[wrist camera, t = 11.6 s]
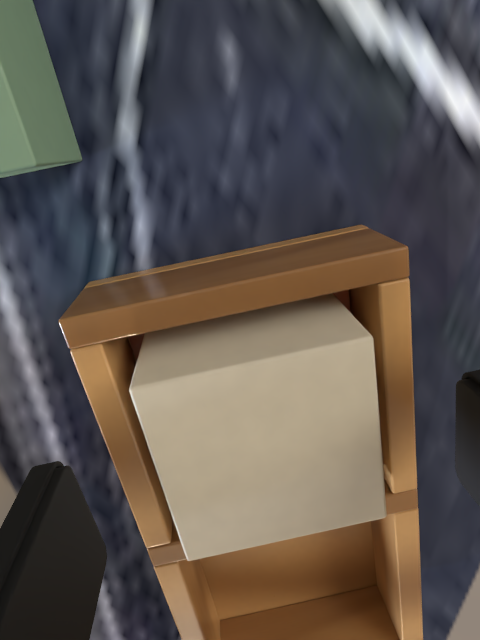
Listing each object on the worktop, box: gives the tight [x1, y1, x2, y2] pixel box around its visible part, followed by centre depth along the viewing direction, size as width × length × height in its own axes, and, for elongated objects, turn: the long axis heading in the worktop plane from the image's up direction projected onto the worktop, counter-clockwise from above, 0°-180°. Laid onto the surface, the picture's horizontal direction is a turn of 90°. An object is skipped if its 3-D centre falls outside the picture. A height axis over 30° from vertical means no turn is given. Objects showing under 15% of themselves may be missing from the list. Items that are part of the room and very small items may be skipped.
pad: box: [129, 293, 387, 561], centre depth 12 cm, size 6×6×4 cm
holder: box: [59, 225, 423, 640], centre depth 14 cm, size 16×8×3 cm, turn 11°
